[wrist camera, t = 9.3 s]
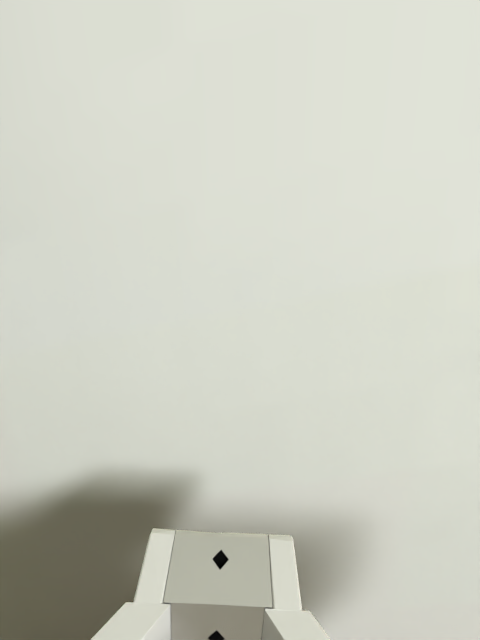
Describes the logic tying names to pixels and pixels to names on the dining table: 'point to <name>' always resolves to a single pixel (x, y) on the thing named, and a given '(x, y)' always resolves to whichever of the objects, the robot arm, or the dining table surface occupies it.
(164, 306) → the dining table surface
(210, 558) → the robot arm
